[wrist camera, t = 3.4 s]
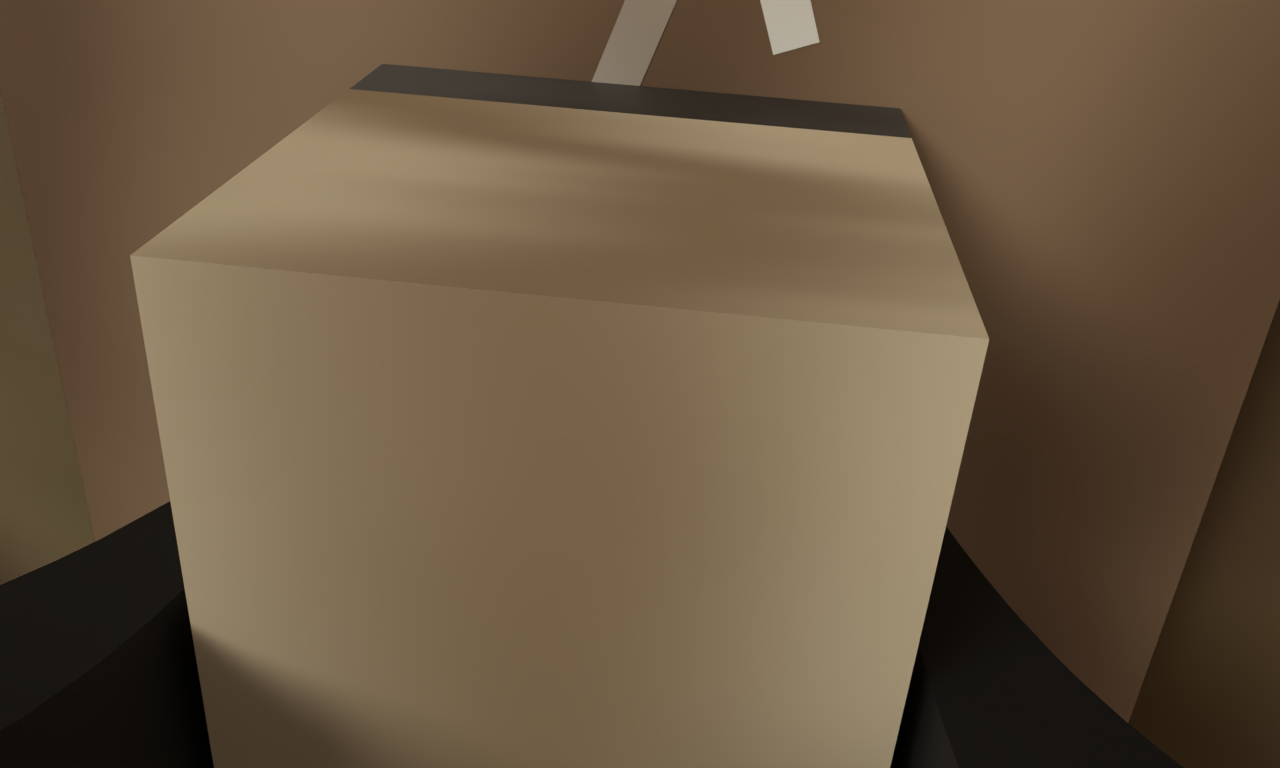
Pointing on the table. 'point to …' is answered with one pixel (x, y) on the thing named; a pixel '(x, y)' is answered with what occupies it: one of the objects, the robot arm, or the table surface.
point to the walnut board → (792, 69)
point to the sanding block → (561, 427)
